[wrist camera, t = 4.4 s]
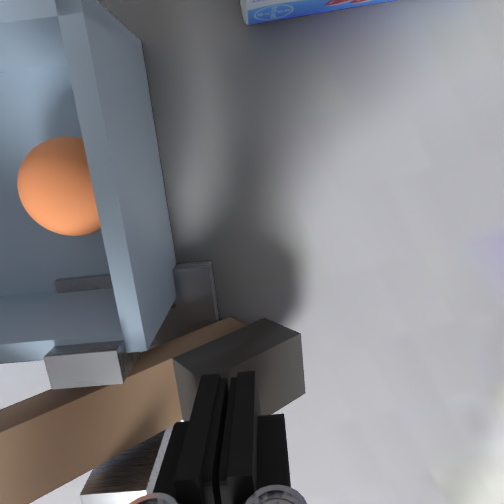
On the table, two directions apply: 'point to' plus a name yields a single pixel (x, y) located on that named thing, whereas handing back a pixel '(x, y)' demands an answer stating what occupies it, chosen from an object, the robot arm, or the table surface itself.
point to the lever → (139, 403)
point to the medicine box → (293, 8)
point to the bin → (102, 177)
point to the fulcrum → (117, 369)
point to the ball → (59, 187)
